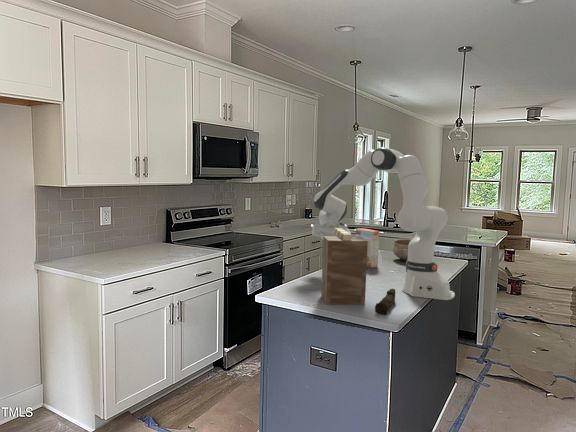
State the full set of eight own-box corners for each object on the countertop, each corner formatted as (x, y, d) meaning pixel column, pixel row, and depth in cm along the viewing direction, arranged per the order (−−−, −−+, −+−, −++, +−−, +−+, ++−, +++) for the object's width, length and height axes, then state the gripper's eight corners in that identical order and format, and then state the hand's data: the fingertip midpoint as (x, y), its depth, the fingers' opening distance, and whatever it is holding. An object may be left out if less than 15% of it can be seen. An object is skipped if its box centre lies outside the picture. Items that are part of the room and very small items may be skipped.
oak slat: (334, 233, 198) (334, 227, 198) (341, 233, 198) (341, 228, 198) (343, 240, 178) (343, 234, 178) (351, 240, 178) (351, 234, 178)
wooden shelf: (321, 295, 191) (323, 236, 189) (357, 295, 193) (360, 236, 190) (325, 304, 179) (328, 240, 177) (364, 304, 181) (367, 241, 178)
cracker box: (378, 267, 252) (380, 230, 250) (370, 268, 248) (372, 231, 246) (361, 262, 263) (363, 227, 261) (353, 263, 260) (355, 228, 258)
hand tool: (386, 316, 167) (387, 302, 166) (374, 314, 169) (375, 300, 169) (401, 301, 187) (401, 288, 187) (389, 299, 189) (390, 287, 189)
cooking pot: (395, 255, 289) (396, 236, 288) (426, 258, 281) (427, 239, 280) (388, 262, 266) (389, 242, 265) (420, 265, 259) (422, 245, 257)
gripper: (311, 218, 228) (314, 231, 216) (349, 225, 231) (354, 238, 219) (308, 229, 231) (311, 242, 218) (346, 235, 234) (351, 249, 222)
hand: (333, 240), depth 219 cm, fingers open, 8 cm apart
